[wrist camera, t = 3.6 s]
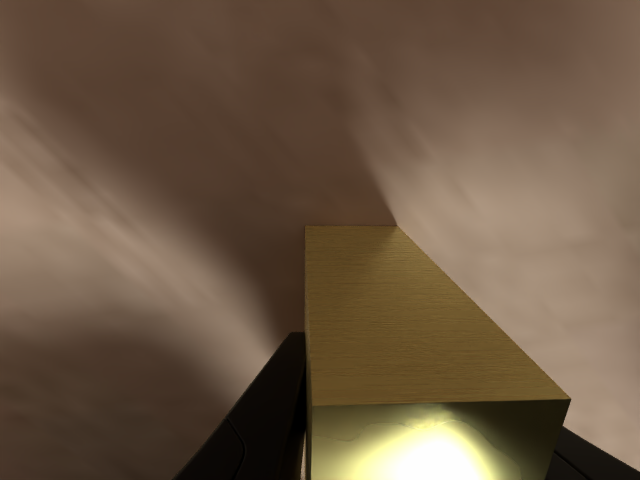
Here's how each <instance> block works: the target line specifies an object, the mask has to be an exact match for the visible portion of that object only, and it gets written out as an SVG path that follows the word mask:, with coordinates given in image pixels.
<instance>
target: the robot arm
mask: <svg viewBox="0 0 640 480" xmlns="http://www.w3.org/2000/svg"><path fill="white" fill-rule="evenodd" d="M305 413H306V348H305V332H291V333H289V335H288V336H287V337H286V339H285V340H284V341H283V342H282V344H281V345H280V346H279V348H278V349H277V350H276V352H275V353H274V354H273V356H272V357H271V358H270V359H269V361H268V362H267V363H266V365H265V366H264V367H263V369H262V370H261V371H260V372H259V374H258V375H257V376H256V378H255V379H254V380H253V382H252V383H251V384H250V385H249V387H248V388H247V389H246V391H245V392H244V393H243V395H242V396H241V397H240V398H239V400H238V401H237V402H236V404H235V405H234V406H233V408H232V409H231V410H230V411H229V413H228V414H227V415H226V417H225V419H223V420H222V422H221V423H220V424H219V425H218V427H217V428H216V429H215V431H214V432H213V433H212V434H211V436H210V437H209V438H208V439H207V441H206V442H205V443H204V444H203V445H202V447H201V448H200V449H199V450H198V452H197V453H196V454H195V455H194V456H193V457H192V458H191V459H190V460H189V461H188V463H187V464H186V465H185V466H184V467H183V468H182V469H181V470H180V471H179V472H178V474H177V475H176V476H175V477H174V478H173V479H172V480H300V475H301V466H302V457H303V448H304V439H305ZM544 480H640V472H639V471H638V470H636V469H634V468H632V467H631V466H629V465H627V464H625V463H624V462H622V461H620V460H618V459H617V458H615V457H613V456H612V455H610V454H608V453H606V452H605V451H603V450H601V449H600V448H598V447H596V446H595V445H593V444H591V443H589V442H588V441H586V440H584V439H583V438H581V437H579V436H578V435H576V434H575V433H573V432H572V431H570V430H568V429H567V428H565V427H564V426H562V429H561V432H560V435H559V438H558V441H557V444H556V447H555V450H554V453H553V456H552V459H551V461H550V464H549V467H548V470H547V473H546V476H545V479H544Z"/></svg>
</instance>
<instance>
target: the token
mask: <svg viewBox="0 0 640 480" xmlns="http://www.w3.org/2000/svg"><path fill="white" fill-rule="evenodd" d="M304 332H305V348H306V413H305V439H304V460H305V480H544V479H545V476H546V473H547V470H548V467H549V464H550V461H551V459H552V456H553V453H554V450H555V447H556V444H557V441H558V438H559V435H560V432H561V429H562V426H563V423H564V420H565V417H566V414H567V411H568V408H569V405H570V402H571V398H570V397H569V396H568V395H567V394H566V393H565V392H564V391H563V390H562V389H561V388H560V387H559V386H558V385H557V384H556V383H555V382H554V381H553V380H552V379H551V378H550V377H549V376H548V375H547V374H546V373H545V372H544V371H543V370H542V369H541V368H540V367H539V366H538V365H537V364H536V363H535V362H534V361H533V360H532V359H531V358H530V357H529V356H528V355H527V354H526V353H525V352H524V351H523V350H522V349H521V348H520V347H519V346H518V345H517V344H516V343H515V342H514V341H513V340H512V339H511V338H510V337H509V336H508V335H507V334H506V333H505V332H504V331H503V330H502V329H501V328H500V327H499V326H498V325H497V324H496V323H495V322H494V321H493V320H492V319H491V318H490V317H489V316H488V315H487V314H486V313H485V312H484V311H483V310H482V309H481V308H480V307H479V306H478V305H477V304H476V303H475V302H474V301H473V300H472V299H471V298H470V297H469V296H468V295H467V294H466V293H465V292H464V291H463V290H462V289H461V288H460V287H459V286H457V285H456V284H455V283H454V282H453V281H452V280H451V279H450V278H449V277H448V276H447V275H446V274H445V273H444V272H443V271H442V270H441V269H440V268H439V267H438V266H437V265H436V264H435V263H434V262H433V261H432V260H431V259H430V258H429V257H428V256H427V255H426V254H425V253H424V252H423V251H422V250H421V249H420V248H419V247H418V246H417V245H416V244H415V243H414V242H413V241H412V240H411V239H410V238H409V237H408V236H407V235H406V234H405V233H404V232H403V231H402V230H401V229H400V228H399V227H398V226H305V325H304Z"/></svg>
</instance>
